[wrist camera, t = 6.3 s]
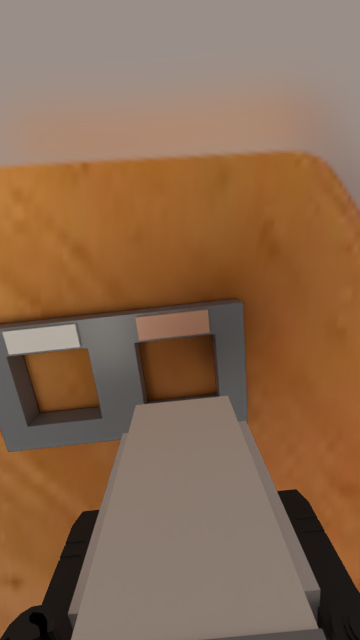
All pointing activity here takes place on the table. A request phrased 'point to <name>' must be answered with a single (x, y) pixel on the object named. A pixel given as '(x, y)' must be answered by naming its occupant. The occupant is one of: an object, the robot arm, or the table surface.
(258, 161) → the table surface
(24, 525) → the table surface
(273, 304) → the table surface
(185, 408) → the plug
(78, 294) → the table surface
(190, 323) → the socket block
